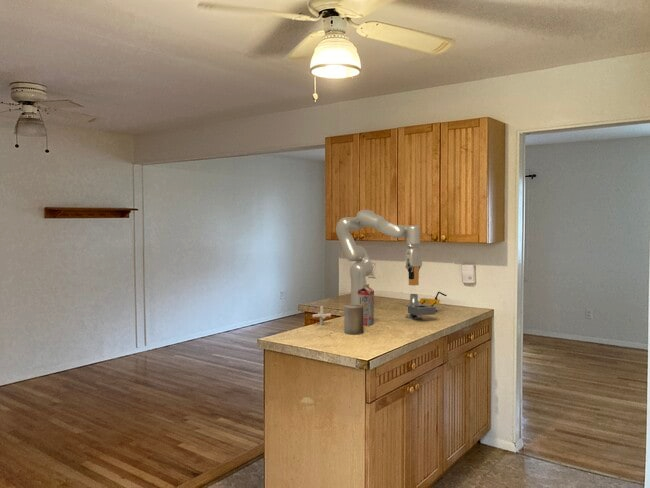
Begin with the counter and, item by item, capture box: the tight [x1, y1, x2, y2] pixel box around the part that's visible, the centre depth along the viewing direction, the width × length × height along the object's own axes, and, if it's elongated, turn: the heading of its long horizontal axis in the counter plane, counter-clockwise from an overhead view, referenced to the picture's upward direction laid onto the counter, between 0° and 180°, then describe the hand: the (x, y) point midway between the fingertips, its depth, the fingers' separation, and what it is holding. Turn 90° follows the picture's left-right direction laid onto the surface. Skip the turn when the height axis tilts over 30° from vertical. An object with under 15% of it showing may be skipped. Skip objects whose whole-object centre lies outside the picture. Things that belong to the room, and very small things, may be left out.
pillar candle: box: [343, 304, 364, 335], centre depth 255 cm, size 10×10×15 cm
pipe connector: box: [311, 305, 332, 326], centre depth 274 cm, size 10×10×10 cm
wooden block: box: [408, 266, 420, 287], centre depth 289 cm, size 4×4×12 cm
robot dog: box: [418, 291, 447, 313], centre depth 315 cm, size 6×18×13 cm, turn 61°
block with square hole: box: [404, 293, 437, 320], centre depth 292 cm, size 12×18×14 cm, turn 24°
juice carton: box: [358, 283, 375, 327], centre depth 274 cm, size 7×7×22 cm
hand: (413, 278), depth 289 cm, fingers closed on wooden block, 4 cm apart
